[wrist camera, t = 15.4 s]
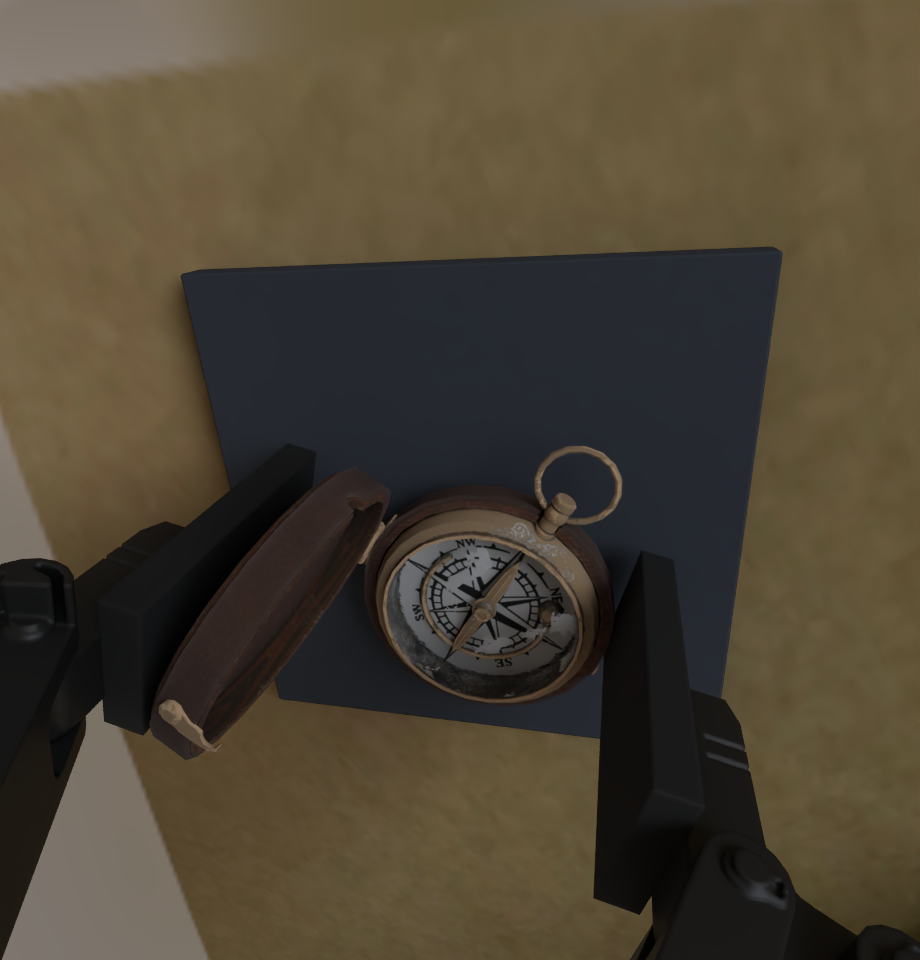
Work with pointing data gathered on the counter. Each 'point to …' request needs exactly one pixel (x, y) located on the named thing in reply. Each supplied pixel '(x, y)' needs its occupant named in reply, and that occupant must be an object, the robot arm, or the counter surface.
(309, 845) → the counter surface
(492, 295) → the mat
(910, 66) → the counter surface
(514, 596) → the compass
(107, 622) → the robot arm
